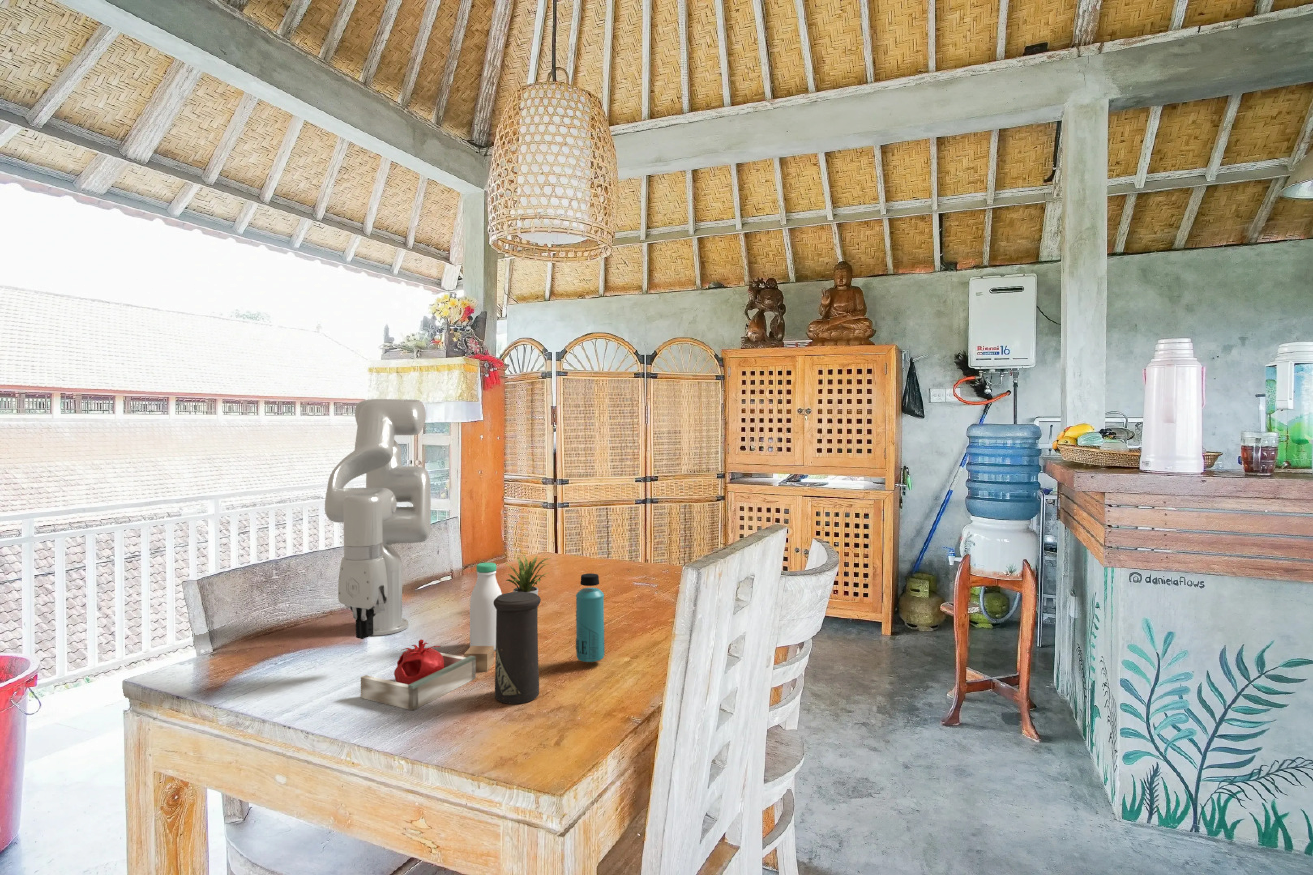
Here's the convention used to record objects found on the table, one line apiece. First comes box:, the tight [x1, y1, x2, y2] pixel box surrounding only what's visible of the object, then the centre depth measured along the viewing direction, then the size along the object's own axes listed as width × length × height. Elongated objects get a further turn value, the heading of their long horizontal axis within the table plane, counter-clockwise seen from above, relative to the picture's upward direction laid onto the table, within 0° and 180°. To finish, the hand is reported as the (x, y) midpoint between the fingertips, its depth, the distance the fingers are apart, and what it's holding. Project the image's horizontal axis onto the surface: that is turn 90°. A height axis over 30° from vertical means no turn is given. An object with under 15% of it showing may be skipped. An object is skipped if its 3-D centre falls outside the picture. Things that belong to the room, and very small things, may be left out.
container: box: [494, 591, 541, 705], centre depth 128 cm, size 9×9×20 cm
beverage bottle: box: [575, 572, 606, 663], centre depth 145 cm, size 6×7×20 cm
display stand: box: [360, 652, 477, 711], centre depth 132 cm, size 14×17×5 cm
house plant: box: [503, 553, 551, 596], centre depth 187 cm, size 14×14×16 cm
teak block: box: [463, 646, 495, 673], centre depth 143 cm, size 5×5×4 cm
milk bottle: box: [469, 562, 503, 652], centre depth 156 cm, size 8×8×20 cm
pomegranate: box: [393, 639, 444, 685], centre depth 134 cm, size 10×10×9 cm
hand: (364, 636), depth 139 cm, fingers closed
